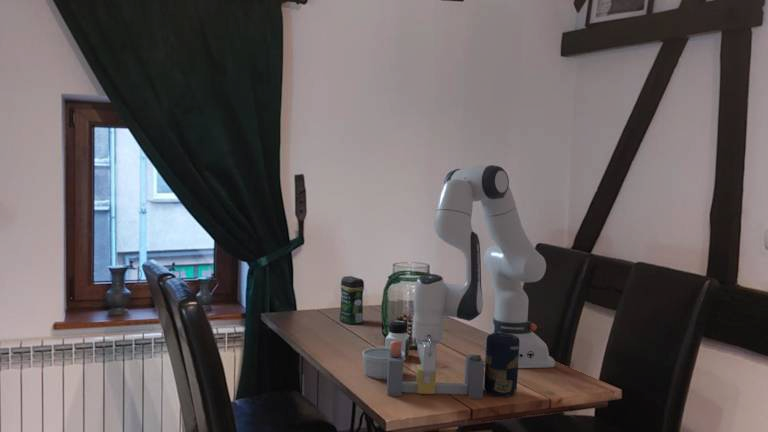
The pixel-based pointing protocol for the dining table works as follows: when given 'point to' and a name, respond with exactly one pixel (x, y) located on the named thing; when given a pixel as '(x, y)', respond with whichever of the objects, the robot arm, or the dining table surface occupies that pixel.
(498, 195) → the robot arm
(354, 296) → the coffee jar
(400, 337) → the medicine bottle
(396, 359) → the rail assembly
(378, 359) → the ramekin
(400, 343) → the gauge button
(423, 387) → the block
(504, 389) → the canister
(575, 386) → the dining table surface
